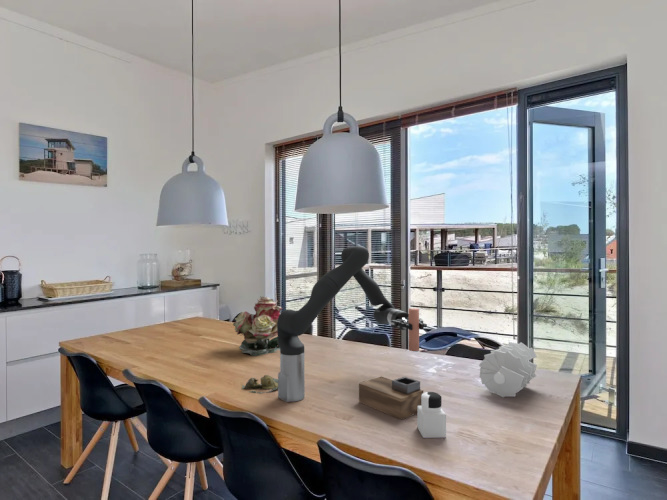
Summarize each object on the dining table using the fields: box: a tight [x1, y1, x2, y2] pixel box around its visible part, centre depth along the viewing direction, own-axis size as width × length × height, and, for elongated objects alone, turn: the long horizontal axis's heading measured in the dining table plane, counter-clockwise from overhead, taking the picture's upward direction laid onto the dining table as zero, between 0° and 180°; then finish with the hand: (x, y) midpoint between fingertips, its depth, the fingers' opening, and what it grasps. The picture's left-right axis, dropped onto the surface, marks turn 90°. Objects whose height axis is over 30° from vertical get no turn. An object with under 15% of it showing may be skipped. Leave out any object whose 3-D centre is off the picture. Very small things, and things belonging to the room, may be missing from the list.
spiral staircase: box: [478, 341, 538, 399], centre depth 160 cm, size 18×18×25 cm
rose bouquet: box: [232, 296, 284, 357], centre depth 224 cm, size 26×29×30 cm
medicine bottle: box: [416, 391, 447, 439], centre depth 123 cm, size 7×7×12 cm
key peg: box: [408, 307, 420, 352], centre depth 156 cm, size 4×4×16 cm
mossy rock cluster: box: [241, 374, 278, 394], centre depth 166 cm, size 18×18×5 cm
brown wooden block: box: [358, 376, 424, 421], centre depth 144 cm, size 12×20×10 cm, turn 40°
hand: (417, 327), depth 153 cm, fingers closed on key peg, 4 cm apart
